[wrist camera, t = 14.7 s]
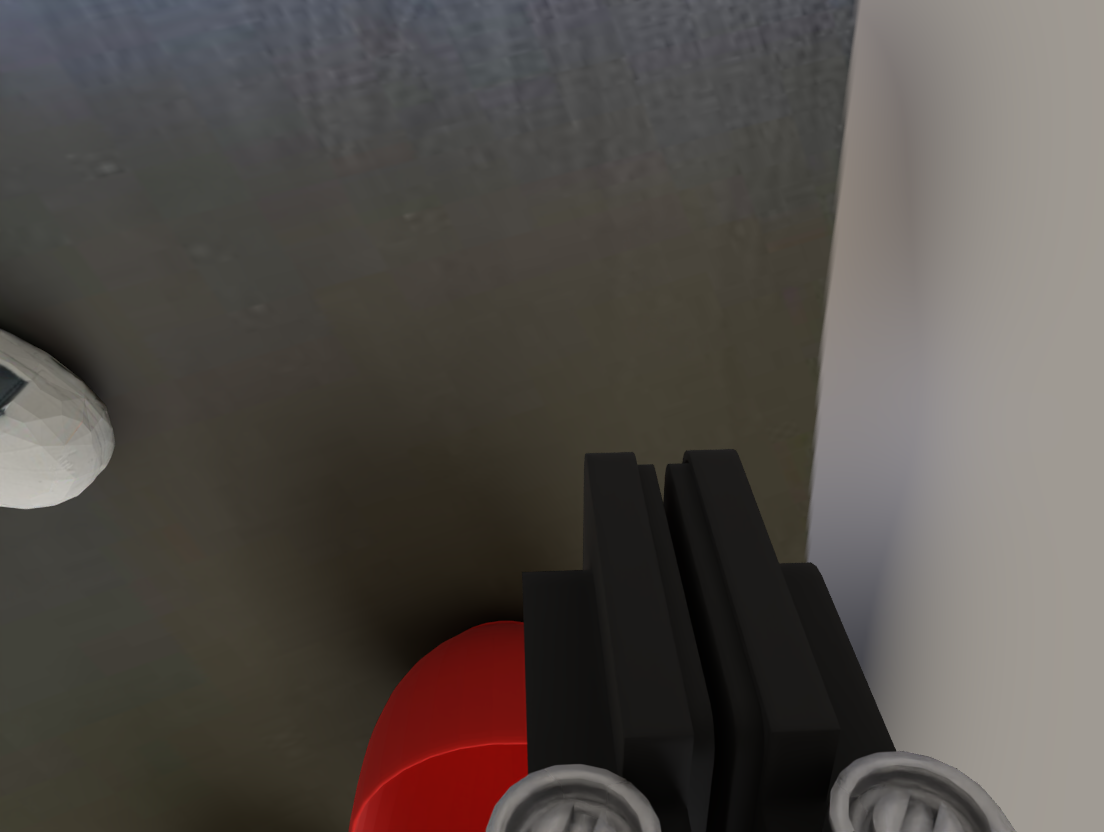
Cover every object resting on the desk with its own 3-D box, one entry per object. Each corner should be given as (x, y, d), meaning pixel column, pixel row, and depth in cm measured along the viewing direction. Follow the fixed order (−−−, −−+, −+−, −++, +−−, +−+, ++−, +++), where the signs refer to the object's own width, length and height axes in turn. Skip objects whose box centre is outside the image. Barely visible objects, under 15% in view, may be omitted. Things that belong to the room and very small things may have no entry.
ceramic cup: (445, 824, 55) (435, 1007, 47) (334, 604, 47) (297, 780, 38) (672, 776, 54) (704, 956, 46) (601, 541, 46) (624, 709, 37)
